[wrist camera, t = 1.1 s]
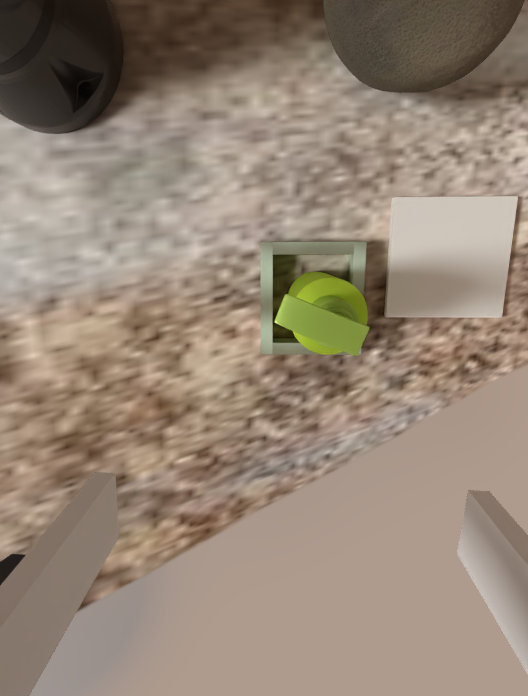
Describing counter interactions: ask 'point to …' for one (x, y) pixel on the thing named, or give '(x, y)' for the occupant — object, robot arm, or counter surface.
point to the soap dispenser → (325, 314)
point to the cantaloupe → (416, 39)
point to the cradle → (267, 251)
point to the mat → (449, 256)
